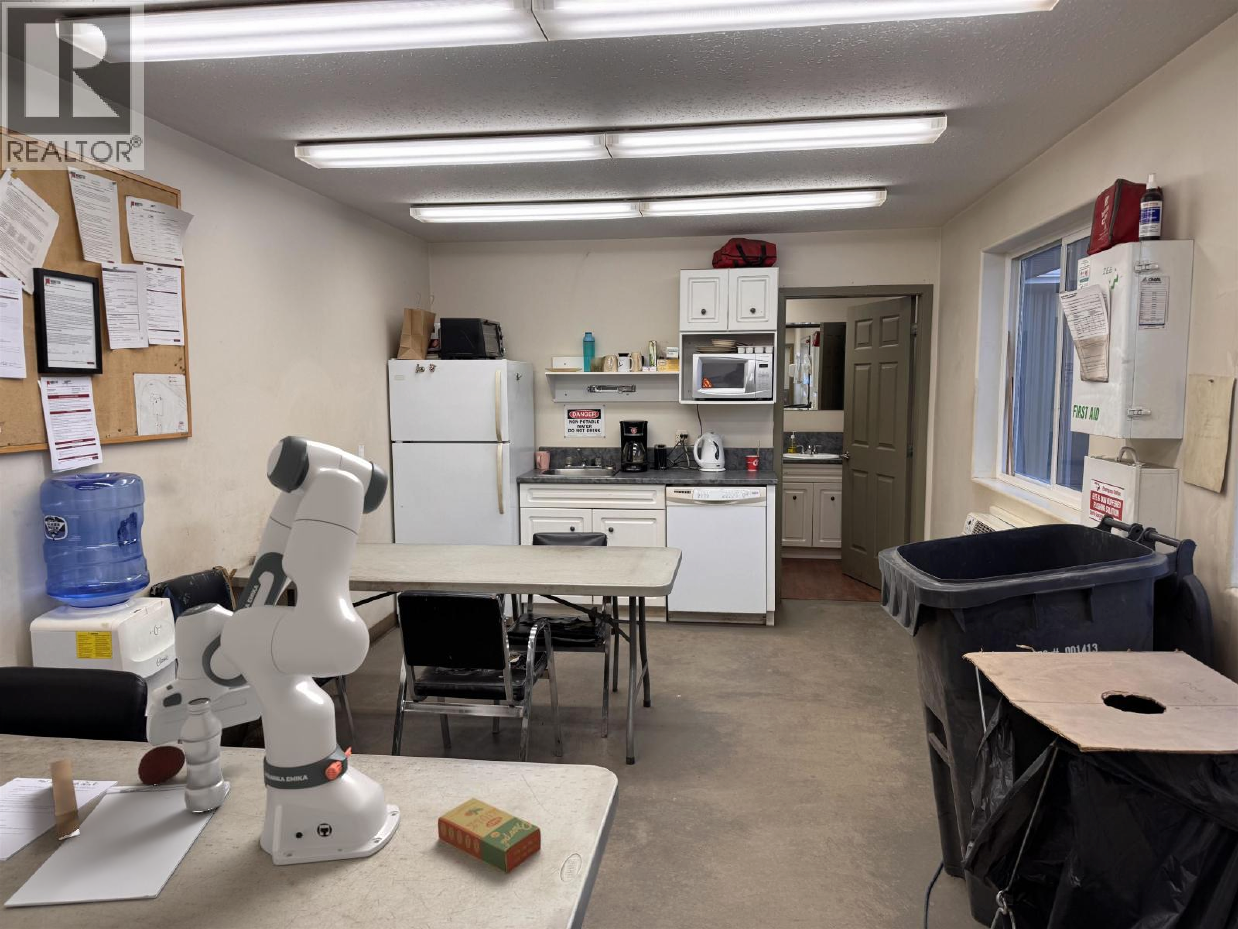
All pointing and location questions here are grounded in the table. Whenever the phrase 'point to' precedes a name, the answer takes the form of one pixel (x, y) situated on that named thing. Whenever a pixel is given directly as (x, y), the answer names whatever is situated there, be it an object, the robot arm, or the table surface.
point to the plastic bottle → (202, 756)
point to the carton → (489, 835)
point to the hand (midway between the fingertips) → (208, 752)
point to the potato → (160, 764)
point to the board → (64, 798)
